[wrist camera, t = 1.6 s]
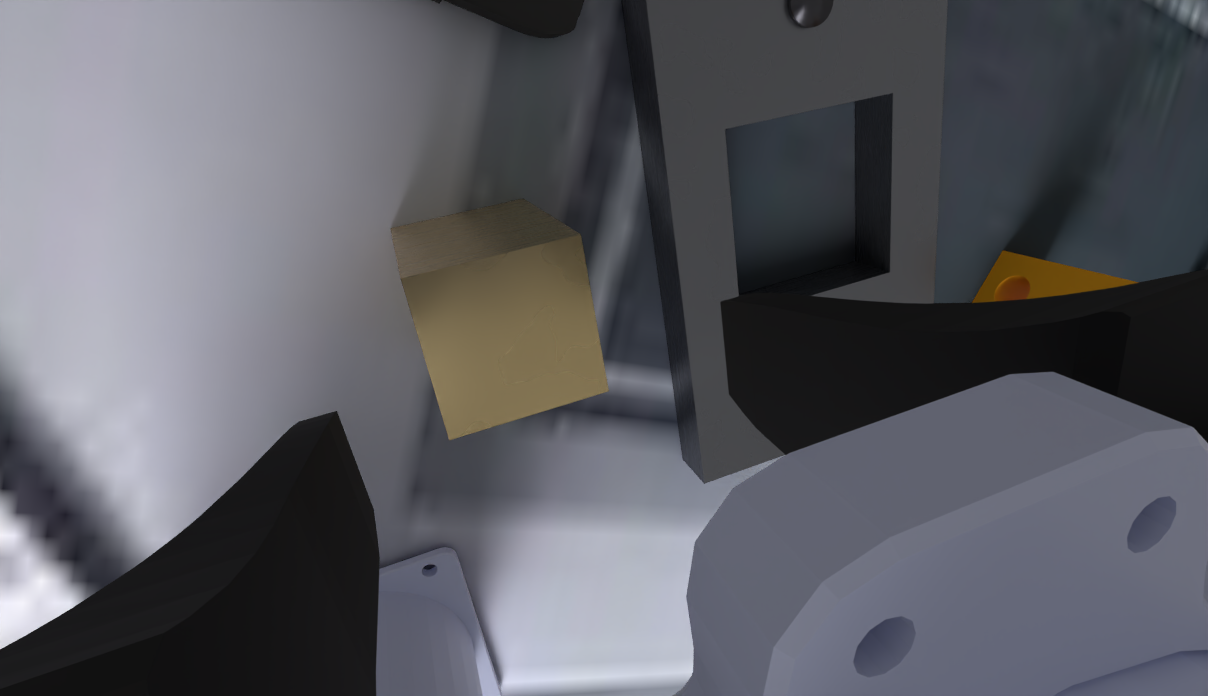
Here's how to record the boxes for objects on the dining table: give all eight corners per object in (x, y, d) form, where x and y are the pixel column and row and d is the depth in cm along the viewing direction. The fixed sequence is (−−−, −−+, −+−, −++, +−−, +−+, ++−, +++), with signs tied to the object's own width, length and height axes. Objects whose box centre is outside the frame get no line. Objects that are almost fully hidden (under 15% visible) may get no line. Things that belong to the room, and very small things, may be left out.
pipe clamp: (916, 513, 31) (1040, 606, 25) (855, 493, 29) (973, 588, 24) (1056, 287, 29) (1225, 333, 23) (999, 249, 27) (1167, 289, 21)
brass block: (427, 352, 21) (449, 440, 15) (390, 228, 19) (400, 278, 14) (548, 319, 22) (608, 391, 16) (523, 198, 20) (580, 234, 15)
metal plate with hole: (682, 459, 25) (706, 486, 23) (610, -85, 18) (636, -106, 16) (896, 385, 28) (932, 405, 26) (908, -122, 20) (959, -143, 19)
